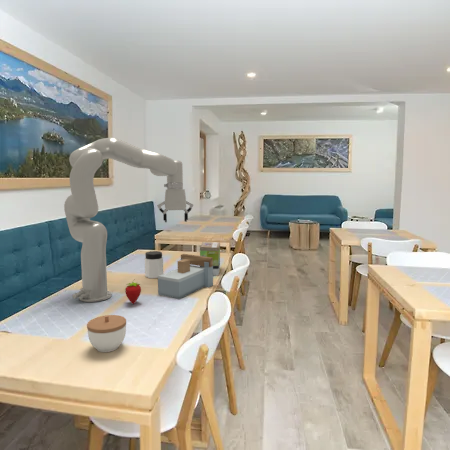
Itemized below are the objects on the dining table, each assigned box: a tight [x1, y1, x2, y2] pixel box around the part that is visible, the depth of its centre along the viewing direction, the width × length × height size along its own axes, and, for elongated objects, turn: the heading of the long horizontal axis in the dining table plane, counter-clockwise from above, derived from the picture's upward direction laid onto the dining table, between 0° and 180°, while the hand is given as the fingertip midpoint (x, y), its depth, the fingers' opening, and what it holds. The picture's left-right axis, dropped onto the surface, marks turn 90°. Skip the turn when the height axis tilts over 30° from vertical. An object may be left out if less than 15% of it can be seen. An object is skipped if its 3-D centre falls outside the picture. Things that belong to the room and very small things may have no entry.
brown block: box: [180, 253, 213, 267], centre depth 165 cm, size 2×16×4 cm, turn 61°
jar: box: [144, 250, 164, 279], centre depth 179 cm, size 9×8×12 cm
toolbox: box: [157, 258, 214, 300], centre depth 157 cm, size 23×15×11 cm, turn 151°
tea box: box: [199, 241, 221, 276], centre depth 187 cm, size 15×10×15 cm
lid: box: [157, 259, 204, 282], centre depth 156 cm, size 22×10×6 cm, turn 151°
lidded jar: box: [86, 314, 127, 353], centre depth 103 cm, size 11×11×9 cm
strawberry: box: [125, 278, 142, 305], centre depth 139 cm, size 6×8×10 cm
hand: (175, 221), depth 175 cm, fingers open, 9 cm apart
